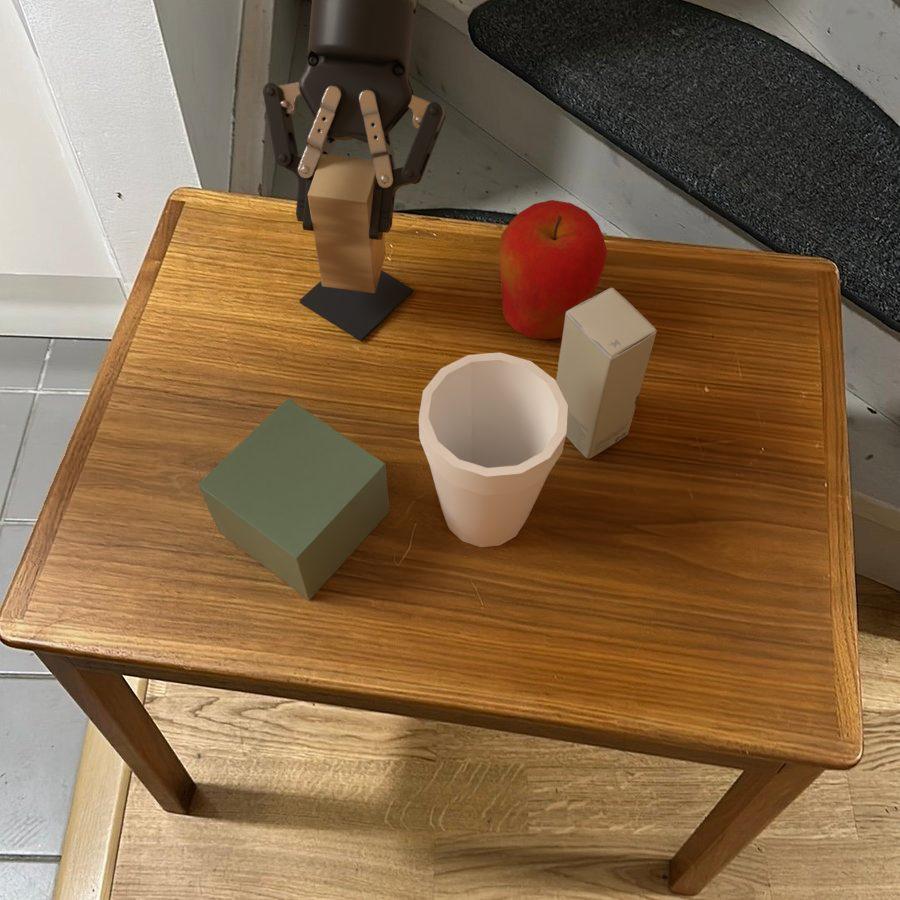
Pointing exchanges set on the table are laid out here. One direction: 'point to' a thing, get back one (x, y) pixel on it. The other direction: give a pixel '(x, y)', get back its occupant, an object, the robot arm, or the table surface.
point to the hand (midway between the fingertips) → (343, 233)
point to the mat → (357, 305)
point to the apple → (548, 266)
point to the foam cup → (491, 442)
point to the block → (345, 223)
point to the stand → (297, 497)
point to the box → (602, 369)
